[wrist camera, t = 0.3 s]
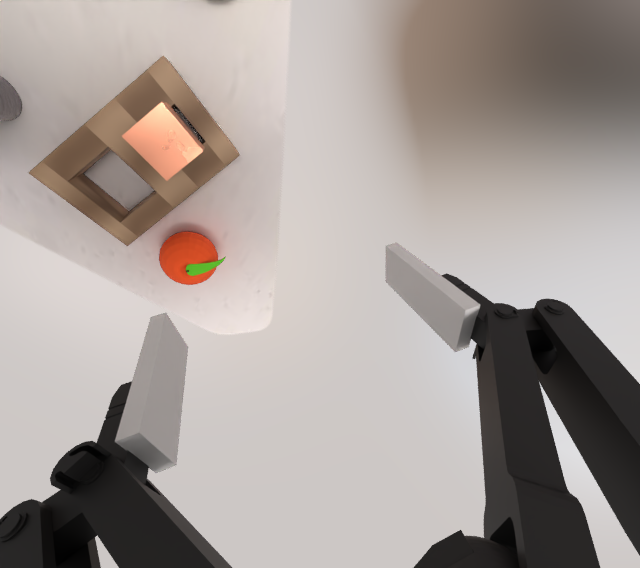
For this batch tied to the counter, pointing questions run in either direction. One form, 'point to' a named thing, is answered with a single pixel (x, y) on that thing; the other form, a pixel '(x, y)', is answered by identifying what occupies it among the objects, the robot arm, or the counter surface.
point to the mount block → (135, 155)
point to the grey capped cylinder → (9, 101)
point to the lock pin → (164, 140)
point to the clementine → (188, 258)
